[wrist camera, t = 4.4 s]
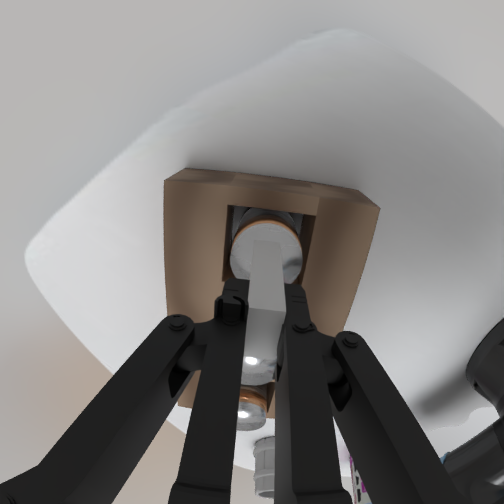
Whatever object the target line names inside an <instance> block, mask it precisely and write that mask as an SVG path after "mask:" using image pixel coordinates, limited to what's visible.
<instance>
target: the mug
mask: <svg viewBox="0 0 504 504" xmlns="http://www.w3.org/2000/svg"><path fill="white" fill-rule="evenodd" d="M253 455H254V457H255V474H254V480H255V495H256V496H258V497H262V498H269V499H274V474H275V437H269V438H266V439H265V438H264V439H261V440H259V441H258V442H257V443H256V447H255V449H254V451H253Z"/></svg>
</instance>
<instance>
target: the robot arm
mask: <svg viewBox="0 0 504 504" xmlns="http://www.w3.org/2000/svg"><path fill="white" fill-rule="evenodd" d="M276 354H277V362H276V366H275V370H274V374H273V378H272V379H275V474H274V504H353V503H352V498H351V495H350V494H349V492H348V491H346V490H345V489H344V488H343V487H342V483H341V474H340V466H339V458H338V450H337V443H336V435H335V429H334V422H333V417H334V419H335V421H336V424H337V426H338V428H339V430H340V433H341V435H342V437H343V439H344V442H345V444H346V446H347V448H348V451H349V453H350V455H351V457H352V459H353V462H354V464H355V466H356V468H357V471H358V473H359V475H360V478H361V480H362V482H363V484H364V487H365V489H366V491H367V493H368V496H369V498H370V500H371V502H372V504H504V320H503V321H501V322H500V323H499V324H498V325H497V326H496V327H495V328H494V329H493V330H492V331H491V332H490V333H489V334H488V335H487V337H486V338H485V339H484V340H483V341H482V343H481V344H480V345H479V347H478V348H477V349H476V351H475V353H474V354H473V356H472V358H471V360H470V362H469V364H468V367H467V370H466V376H467V379H468V381H469V382H470V384H471V386H472V387H473V389H475V390H476V391H477V392H478V393H479V394H481V395H482V396H483V397H484V398H486V399H487V400H488V401H489V402H490V403H492V404H493V405H494V406H495V408H496V410H497V412H498V414H499V416H500V418H499V419H498V420H497V421H495V422H494V423H493V424H492V425H490V426H489V427H487V428H486V429H485V430H483V431H482V432H480V433H479V434H478V435H476V436H475V437H473V438H472V439H471V440H469V441H467V442H466V443H464V444H463V445H461V446H460V447H458V448H456V449H455V450H453V451H451V452H447V453H446V454H445V455H444V456H443V457H441V458H439V457H438V455H437V453H436V452H435V450H434V448H433V446H432V445H431V443H430V441H429V440H428V438H427V437H426V435H425V433H424V431H423V430H422V428H421V427H420V425H419V423H418V422H417V420H416V418H415V417H414V415H413V414H412V412H411V410H410V409H409V407H408V406H407V404H406V402H405V401H404V399H403V398H402V396H401V395H400V393H399V391H398V390H397V388H396V387H395V385H394V384H393V382H392V381H391V379H390V378H389V376H388V375H387V373H386V371H385V370H384V368H383V367H382V365H381V364H380V362H379V361H378V359H377V358H376V356H375V355H374V353H373V352H372V350H371V349H370V348H369V346H368V345H367V343H366V342H365V340H364V339H363V338H362V337H361V336H360V335H358V334H357V333H355V332H351V331H342V332H339V333H338V334H337V335H336V337H332V336H329V335H325V334H323V333H321V332H319V331H318V330H317V327H316V325H315V324H314V323H313V322H312V321H311V318H310V313H309V308H308V304H307V298H306V292H305V290H304V289H303V288H302V286H301V285H297V284H288V283H284V280H283V269H282V258H281V248H280V243H279V242H270V241H262V240H254V247H253V255H252V263H251V272H250V280H247V279H238V278H229V279H228V280H227V281H226V282H225V283H224V287H223V291H222V295H220V296H219V297H217V298H216V300H215V301H214V318H213V319H211V320H209V321H206V322H201V323H194V321H193V320H192V319H191V318H190V317H188V316H186V315H182V314H173V315H170V316H167V317H166V318H164V319H163V320H162V321H161V322H160V323H159V324H158V325H157V327H156V328H155V329H154V330H153V331H152V332H151V333H150V334H149V336H148V337H147V338H146V339H145V340H144V341H143V342H142V343H141V345H140V346H139V347H138V348H137V349H136V350H135V351H134V353H133V354H132V355H131V356H130V357H129V358H128V359H127V360H126V362H125V363H124V364H123V365H122V366H121V367H120V368H119V370H118V371H117V372H116V373H115V374H114V375H113V377H112V378H111V379H110V380H109V381H108V382H107V384H106V385H105V386H104V387H103V388H102V389H101V390H100V392H99V393H98V394H97V395H96V396H95V397H94V399H93V400H92V401H91V402H90V403H89V404H88V406H87V407H86V408H85V409H84V411H83V412H82V413H81V414H80V415H79V416H78V417H77V419H76V420H75V421H74V422H73V423H72V425H71V426H70V427H69V428H68V429H67V431H66V432H65V433H64V434H63V435H62V437H61V438H60V439H59V440H58V441H57V443H56V444H55V445H54V446H53V448H52V449H51V450H50V451H49V452H48V454H47V455H46V456H45V457H44V458H43V460H42V461H41V462H40V463H39V465H37V466H35V467H33V468H32V469H30V470H28V471H26V472H24V473H22V474H20V475H18V476H16V477H14V478H12V479H10V480H8V481H6V482H4V483H1V484H0V504H111V503H112V502H113V501H114V499H115V498H116V496H117V495H118V493H119V492H120V490H121V488H122V487H123V485H124V484H125V482H126V481H127V479H128V478H129V476H130V475H131V473H132V471H133V470H134V468H135V467H136V465H137V464H138V462H139V461H140V459H141V458H142V456H143V454H144V453H145V451H146V450H147V448H148V446H149V445H150V444H151V442H152V440H153V439H154V437H155V435H156V434H157V432H158V431H159V429H160V428H161V426H162V424H163V423H164V421H165V420H166V418H167V417H168V415H169V413H170V412H171V410H172V409H173V407H174V406H175V404H176V402H177V401H178V399H179V398H180V396H181V394H182V393H183V391H184V389H185V388H186V386H187V385H188V383H189V381H190V380H191V378H192V377H193V375H194V373H195V371H197V370H201V373H200V377H199V381H198V386H197V390H196V394H195V399H194V403H193V407H192V412H191V416H190V421H189V425H188V430H187V434H186V439H185V443H184V448H183V452H182V457H181V462H180V467H179V471H178V476H177V479H176V481H175V483H174V484H173V486H172V488H171V492H170V496H169V501H168V504H230V495H231V480H232V470H233V460H234V450H235V440H236V429H237V419H238V409H239V399H240V388H241V378H242V368H243V357H253V358H263V359H275V358H276Z"/></svg>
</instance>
